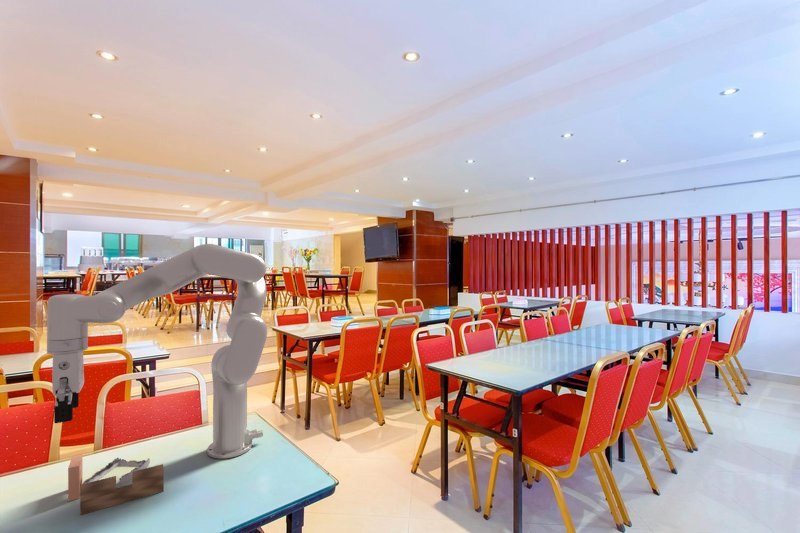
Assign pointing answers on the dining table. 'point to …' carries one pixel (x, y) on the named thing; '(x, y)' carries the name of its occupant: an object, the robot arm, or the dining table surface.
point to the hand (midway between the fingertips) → (67, 414)
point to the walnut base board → (121, 489)
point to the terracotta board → (75, 478)
